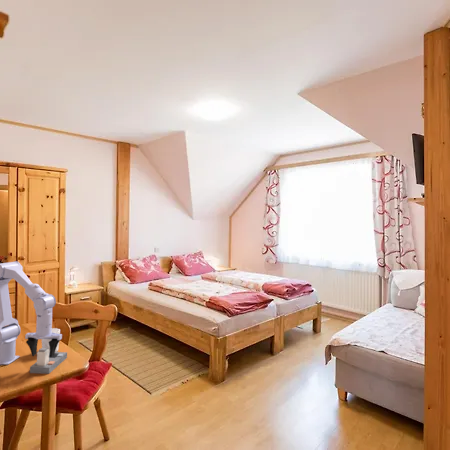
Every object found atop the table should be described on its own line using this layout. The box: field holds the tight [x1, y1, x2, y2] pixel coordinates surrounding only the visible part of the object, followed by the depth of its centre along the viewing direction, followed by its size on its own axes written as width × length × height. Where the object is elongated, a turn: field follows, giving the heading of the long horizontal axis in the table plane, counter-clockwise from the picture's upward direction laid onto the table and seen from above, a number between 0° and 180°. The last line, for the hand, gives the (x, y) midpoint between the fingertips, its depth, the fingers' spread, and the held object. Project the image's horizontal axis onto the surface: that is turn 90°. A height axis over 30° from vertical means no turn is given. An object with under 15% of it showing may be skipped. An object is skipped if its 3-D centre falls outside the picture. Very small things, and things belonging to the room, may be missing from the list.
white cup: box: [41, 327, 61, 352], centre depth 151 cm, size 8×8×10 cm
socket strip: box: [29, 351, 68, 374], centre depth 138 cm, size 8×15×3 cm, turn 1°
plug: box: [36, 347, 49, 366], centre depth 134 cm, size 3×3×9 cm
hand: (43, 355), depth 134 cm, fingers open, 7 cm apart
